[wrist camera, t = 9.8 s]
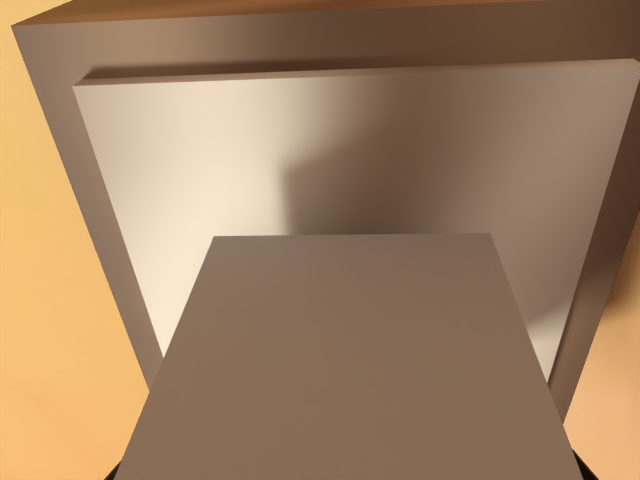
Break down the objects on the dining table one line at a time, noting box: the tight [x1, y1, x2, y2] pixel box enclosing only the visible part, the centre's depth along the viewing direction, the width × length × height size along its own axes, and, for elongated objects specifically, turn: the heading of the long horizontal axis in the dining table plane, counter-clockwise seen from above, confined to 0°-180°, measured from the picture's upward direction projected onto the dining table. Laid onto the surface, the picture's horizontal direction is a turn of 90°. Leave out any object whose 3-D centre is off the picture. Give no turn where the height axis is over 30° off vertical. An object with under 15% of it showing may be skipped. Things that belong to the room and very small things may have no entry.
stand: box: [11, 0, 640, 424], centre depth 13 cm, size 12×12×4 cm
